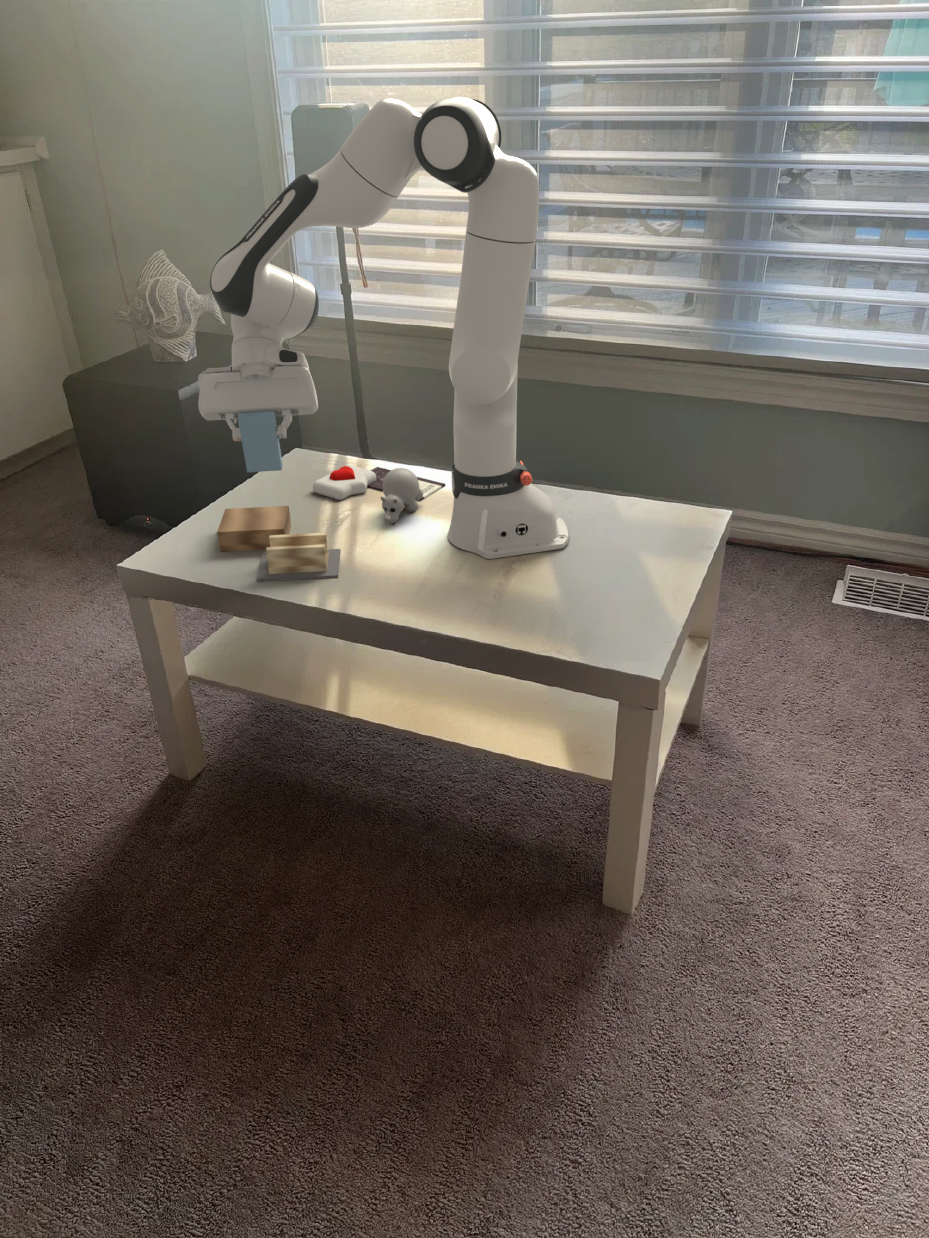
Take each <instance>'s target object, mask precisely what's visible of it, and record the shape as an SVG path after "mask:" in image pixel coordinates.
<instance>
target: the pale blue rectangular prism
mask: <svg viewBox="0 0 929 1238" xmlns="http://www.w3.org/2000/svg"><path fill="white" fill-rule="evenodd" d="M276 419H277V418H276V416H275V411H267V412H251V413H239V415H238V419H237V423H238V428H239V429H240V434H241V440H242V441H241V445H242V450H243V456H244V462H245V467H246V473H257V472H260V473H261V472H262V473H263V472H275V471H276V472H278V471H283V467H284V464H283V458H282V451H281V444H280V439H278V438H277V436H276V431H277V430H276V426H278V424H277V420H276Z"/></svg>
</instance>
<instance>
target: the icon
mask: <svg viewBox="0 0 929 1238" xmlns="http://www.w3.org/2000/svg"><path fill="white" fill-rule="evenodd" d="M375 481H376V475H375V473H374V472H372V471H371V470H369V469H365V468H361V467H358V466H354V465H351V464H349V465H345V466H344V465H343V466H341V467H340V468H339V469H336V470H333V471H332V472H331V473H329V474H327V475H325V476H324V477H321V478H319V479H317V480H315V481H314V482H313V484H312V489H313V491H314V493H316V494H318V495H320V496H323V497H324V496H325V497H328V498H329V499H330V498H331V499H333V498H334V499H333V500H337V501H342V500H344V499H346V498H348V497H350V496H354V495H361V494H365V493H366V492H367V489H368V487H367V486H368V485H370V484H371V483H373V482H375Z"/></svg>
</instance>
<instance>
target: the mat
mask: <svg viewBox="0 0 929 1238" xmlns="http://www.w3.org/2000/svg"><path fill="white" fill-rule="evenodd" d="M328 551H329V556H328V564H327V571H319V572H300V573H280V574H269V570H268V569H269V566H268V560H267V553H266V552H265V551H264V552H262V556H261V558H260V559H261V560H260V564H259V567H258V570H257V571H258V572H257V576H256V579H255V580H256V582H272V581H273V582H274V581H288V580H289V581H291V580H306V579H307V580H311V579H328V578H329V579H330V578H339V569H340V560H341V559H340V557H341V548H328Z"/></svg>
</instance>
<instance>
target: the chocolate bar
mask: <svg viewBox="0 0 929 1238" xmlns="http://www.w3.org/2000/svg"><path fill="white" fill-rule="evenodd" d="M391 470H392V469H387V468H383V467H380V466H376V467H374V468H372V469H370V471H372V472H374V473H375V475H376V481H375V482H373V483H371V484H370V485H368V486H367V489H368V488H369V489H373V490H376V491H380V492H383V488H382V485H383V480H384V478H385V476H386V475H387V474H388V473H389V472H390V471H391ZM416 477H417V479H418V481H419V488H420V489H421V490H422V492H423V497H422V498H421V499H420V500H418V501H417V502H422V501H424V500H425V499H427V498H428V497H430V496H432V495H433V494H434V493H437V492H438V491H439V490H441V489H442V488H443V489H444V487H446V483H445V482H443V483H442V482H441V481H440V482H439V481H436V480H435V481H434V480H431V479H427V478H423V477H419V476H416Z"/></svg>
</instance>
